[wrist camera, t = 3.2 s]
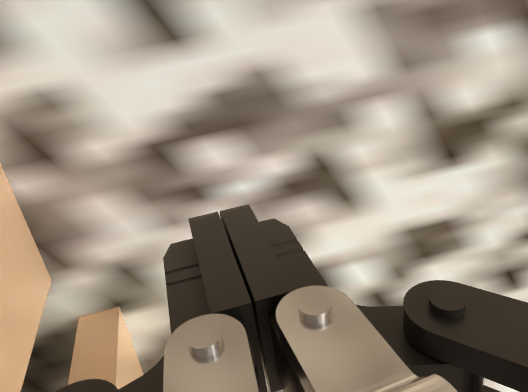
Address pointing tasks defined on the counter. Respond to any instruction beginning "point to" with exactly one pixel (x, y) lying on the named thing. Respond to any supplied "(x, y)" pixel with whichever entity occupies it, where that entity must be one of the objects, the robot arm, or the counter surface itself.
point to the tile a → (18, 290)
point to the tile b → (104, 350)
